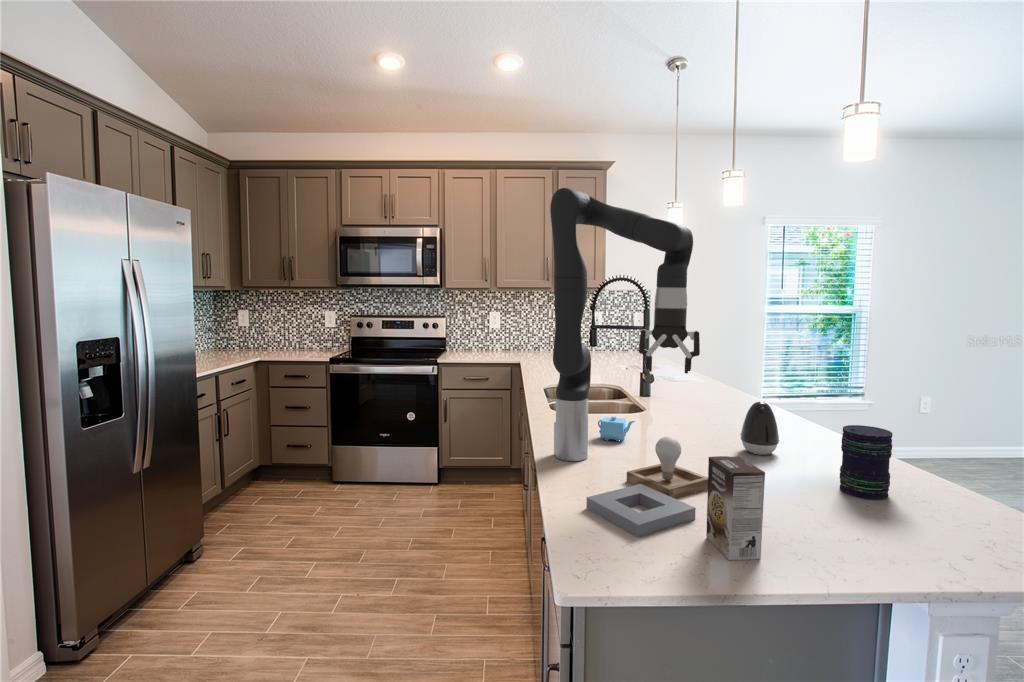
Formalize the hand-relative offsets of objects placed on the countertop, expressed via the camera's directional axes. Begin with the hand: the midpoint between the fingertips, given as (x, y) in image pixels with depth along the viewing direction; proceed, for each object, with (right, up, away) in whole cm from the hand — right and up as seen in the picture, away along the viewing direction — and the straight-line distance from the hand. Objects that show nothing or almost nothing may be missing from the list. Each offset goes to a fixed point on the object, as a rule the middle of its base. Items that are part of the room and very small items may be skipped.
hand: (667, 372), depth 130 cm
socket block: (-11, -29, -17) cm, 36 cm away
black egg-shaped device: (+35, -25, +25) cm, 50 cm away
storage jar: (+45, -28, -6) cm, 53 cm away
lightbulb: (0, -27, 0) cm, 27 cm away
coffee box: (+2, -31, -32) cm, 45 cm away
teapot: (-5, -24, +39) cm, 47 cm away
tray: (0, -28, 0) cm, 28 cm away
